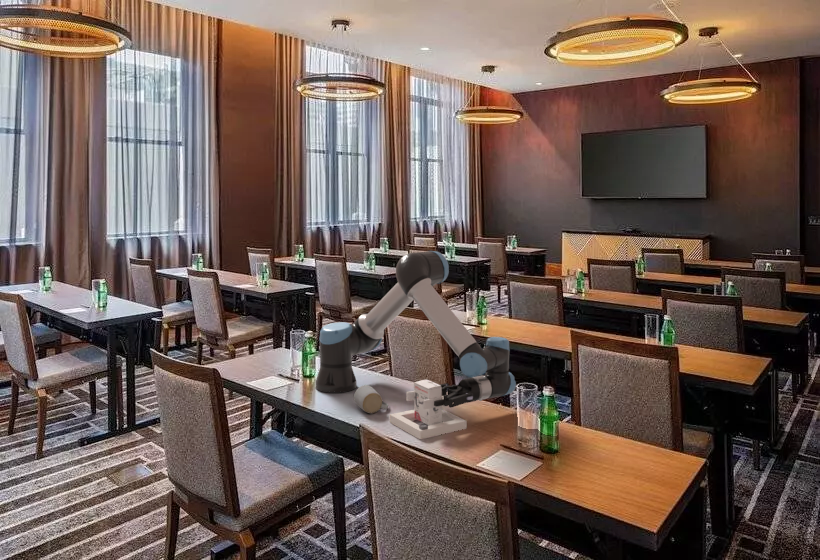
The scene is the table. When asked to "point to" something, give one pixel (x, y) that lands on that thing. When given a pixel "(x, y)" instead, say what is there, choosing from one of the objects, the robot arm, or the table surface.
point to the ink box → (423, 392)
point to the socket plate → (424, 431)
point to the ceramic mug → (369, 399)
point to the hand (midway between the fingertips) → (415, 400)
